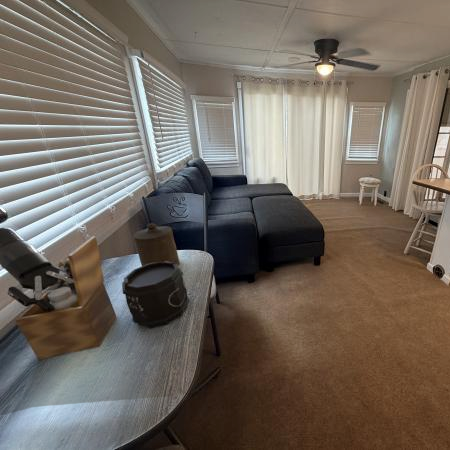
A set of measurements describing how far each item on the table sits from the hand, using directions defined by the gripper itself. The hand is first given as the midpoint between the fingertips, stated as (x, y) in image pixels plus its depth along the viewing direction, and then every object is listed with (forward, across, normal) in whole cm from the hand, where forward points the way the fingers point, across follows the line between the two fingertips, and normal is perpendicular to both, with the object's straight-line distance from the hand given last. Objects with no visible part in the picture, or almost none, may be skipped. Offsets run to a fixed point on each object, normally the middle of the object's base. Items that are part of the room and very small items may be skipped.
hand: (67, 301), depth 68 cm
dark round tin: (+20, +16, -1) cm, 26 cm away
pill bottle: (+5, 0, +7) cm, 9 cm away
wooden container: (+4, +39, +16) cm, 43 cm away
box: (+9, 0, +11) cm, 14 cm away
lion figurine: (-16, +23, +37) cm, 46 cm away
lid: (-3, +5, -10) cm, 11 cm away
